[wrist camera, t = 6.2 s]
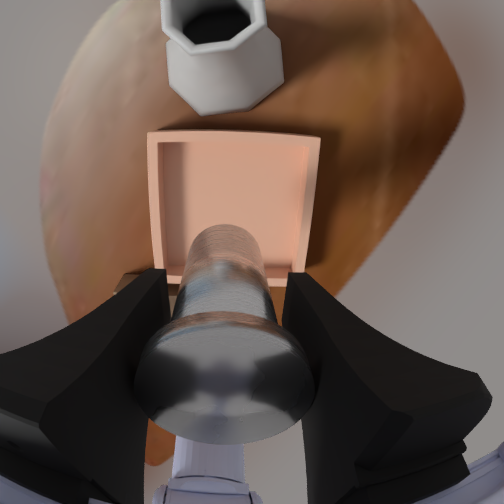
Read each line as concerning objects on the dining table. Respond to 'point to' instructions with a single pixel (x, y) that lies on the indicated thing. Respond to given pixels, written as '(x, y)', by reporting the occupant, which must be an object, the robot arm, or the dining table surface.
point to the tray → (232, 193)
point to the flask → (221, 53)
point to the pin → (224, 351)
